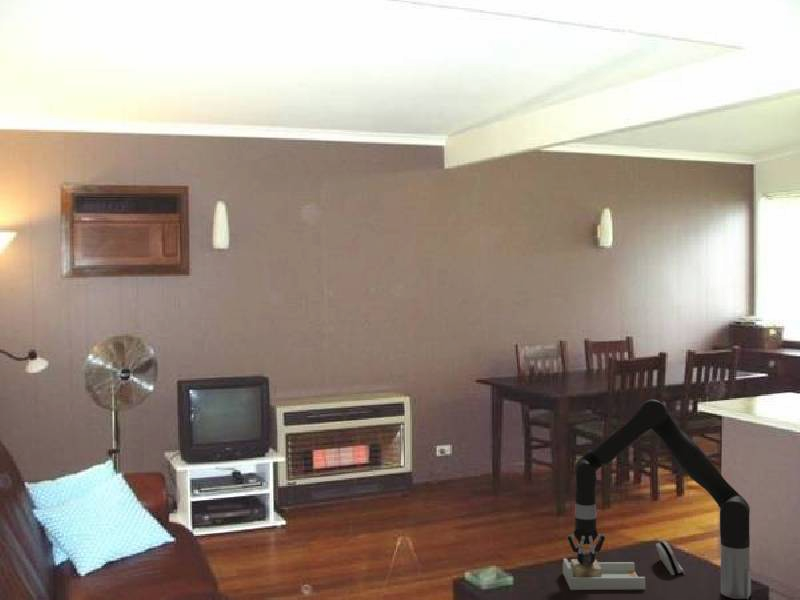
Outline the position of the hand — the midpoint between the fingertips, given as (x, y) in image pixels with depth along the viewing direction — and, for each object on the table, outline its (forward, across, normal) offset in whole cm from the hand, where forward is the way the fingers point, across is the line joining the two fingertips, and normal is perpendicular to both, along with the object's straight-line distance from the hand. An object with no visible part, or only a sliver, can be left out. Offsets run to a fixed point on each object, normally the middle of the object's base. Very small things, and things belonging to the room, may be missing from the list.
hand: (586, 562), depth 299 cm
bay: (+7, -6, 0) cm, 9 cm away
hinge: (+7, -34, -14) cm, 37 cm away
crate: (+5, 0, 0) cm, 5 cm away
